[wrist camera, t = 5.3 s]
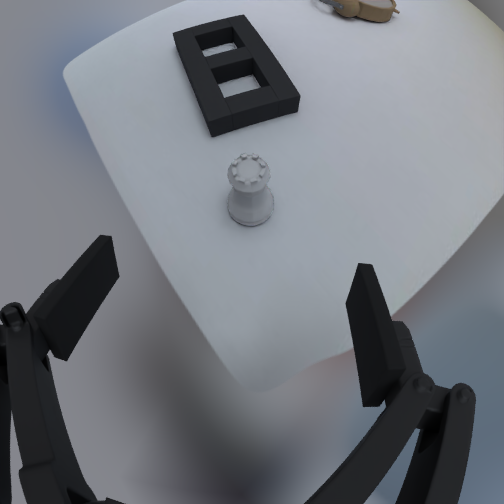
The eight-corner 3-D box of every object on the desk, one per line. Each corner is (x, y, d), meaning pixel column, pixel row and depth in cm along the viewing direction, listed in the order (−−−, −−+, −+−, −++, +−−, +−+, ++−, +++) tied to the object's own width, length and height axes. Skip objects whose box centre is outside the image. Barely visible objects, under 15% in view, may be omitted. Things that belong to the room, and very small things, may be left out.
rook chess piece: (277, 224, 30) (284, 190, 22) (230, 230, 30) (221, 199, 22) (269, 182, 31) (273, 138, 23) (225, 188, 31) (215, 146, 23)
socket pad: (212, 137, 32) (208, 121, 29) (176, 47, 36) (172, 32, 33) (297, 111, 33) (300, 95, 30) (244, 29, 36) (243, 14, 33)
